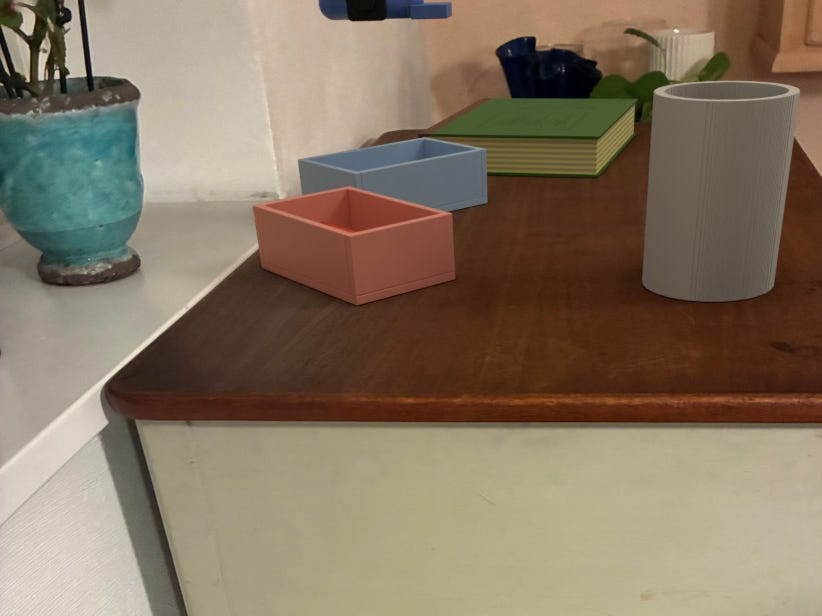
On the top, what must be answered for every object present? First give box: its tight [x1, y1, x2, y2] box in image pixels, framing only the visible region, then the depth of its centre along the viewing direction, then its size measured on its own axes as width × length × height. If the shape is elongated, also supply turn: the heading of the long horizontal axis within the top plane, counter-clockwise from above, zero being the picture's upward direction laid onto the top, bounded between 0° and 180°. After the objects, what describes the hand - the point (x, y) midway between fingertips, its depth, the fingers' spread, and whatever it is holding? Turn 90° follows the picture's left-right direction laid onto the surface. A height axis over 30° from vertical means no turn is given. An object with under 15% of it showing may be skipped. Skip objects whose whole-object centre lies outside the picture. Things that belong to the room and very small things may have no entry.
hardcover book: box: [417, 97, 638, 179], centre depth 111 cm, size 25×19×4 cm
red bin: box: [251, 186, 456, 306], centre depth 75 cm, size 13×9×5 cm, turn 40°
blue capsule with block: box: [318, 0, 453, 21], centre depth 83 cm, size 11×3×2 cm, turn 82°
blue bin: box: [297, 137, 488, 213], centre depth 92 cm, size 14×9×5 cm, turn 130°
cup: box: [641, 80, 801, 303], centre depth 68 cm, size 9×9×12 cm
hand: (371, 16), depth 84 cm, fingers closed on blue capsule with block, 2 cm apart
